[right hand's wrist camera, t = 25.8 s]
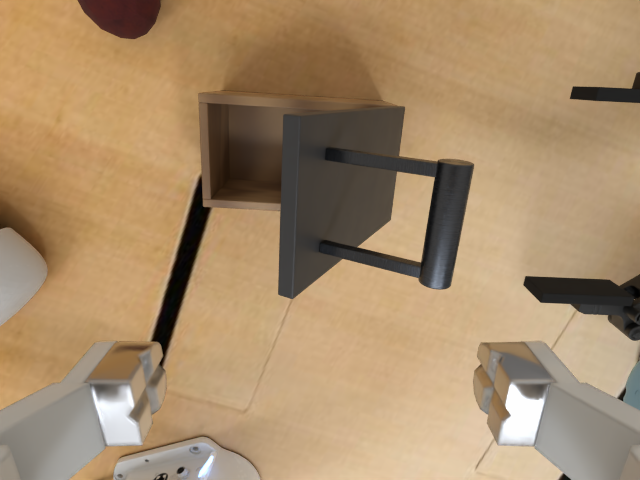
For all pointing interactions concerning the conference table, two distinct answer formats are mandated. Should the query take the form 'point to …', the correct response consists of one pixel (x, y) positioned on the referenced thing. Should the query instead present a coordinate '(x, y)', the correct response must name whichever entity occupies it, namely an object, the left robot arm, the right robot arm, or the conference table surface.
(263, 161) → the chest
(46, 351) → the conference table surface
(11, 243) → the grey rounded casing
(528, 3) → the conference table surface
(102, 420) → the right robot arm
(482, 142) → the conference table surface
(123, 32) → the potato
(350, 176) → the lid
